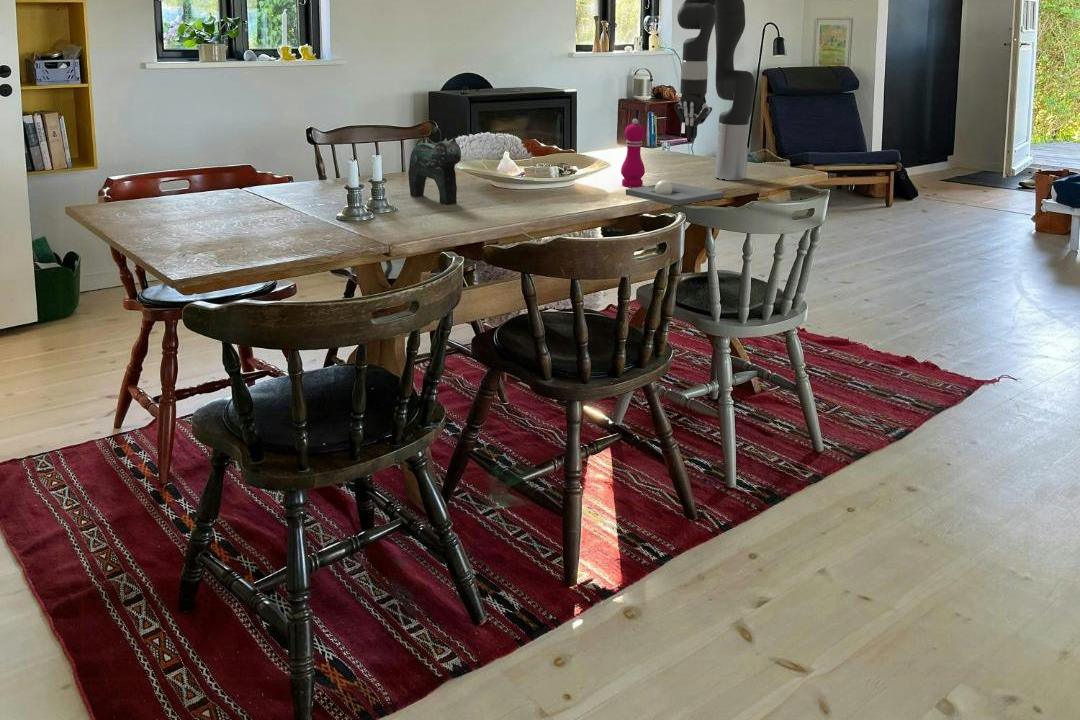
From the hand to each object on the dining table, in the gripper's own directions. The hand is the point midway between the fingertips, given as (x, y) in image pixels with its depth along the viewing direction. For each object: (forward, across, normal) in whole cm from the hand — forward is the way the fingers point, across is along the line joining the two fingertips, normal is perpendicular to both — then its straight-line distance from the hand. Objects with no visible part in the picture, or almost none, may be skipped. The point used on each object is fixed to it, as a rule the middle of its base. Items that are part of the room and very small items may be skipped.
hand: (691, 138), depth 307 cm
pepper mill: (+16, +18, +5) cm, 25 cm away
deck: (+16, -1, +8) cm, 17 cm away
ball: (+13, -1, +12) cm, 18 cm away
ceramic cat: (+14, +36, +67) cm, 77 cm away
